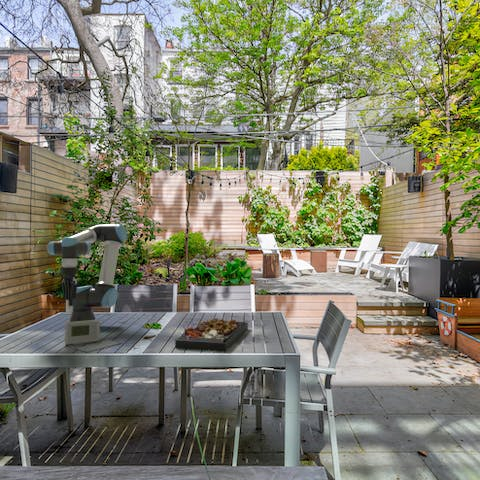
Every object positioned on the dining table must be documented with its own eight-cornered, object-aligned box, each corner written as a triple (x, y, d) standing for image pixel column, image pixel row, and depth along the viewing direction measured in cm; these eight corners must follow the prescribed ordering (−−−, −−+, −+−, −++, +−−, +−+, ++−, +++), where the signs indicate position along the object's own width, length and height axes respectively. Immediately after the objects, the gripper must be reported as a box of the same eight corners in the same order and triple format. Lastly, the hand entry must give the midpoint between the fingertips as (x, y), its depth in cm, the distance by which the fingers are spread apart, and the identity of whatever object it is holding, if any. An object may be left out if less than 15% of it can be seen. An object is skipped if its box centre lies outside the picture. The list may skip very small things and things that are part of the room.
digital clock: (63, 346, 178) (63, 324, 178) (67, 341, 187) (67, 320, 187) (98, 343, 181) (98, 322, 182) (101, 339, 190) (101, 318, 190)
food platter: (225, 353, 167) (225, 330, 167) (175, 349, 173) (175, 327, 173) (247, 330, 210) (247, 312, 210) (207, 327, 216) (207, 310, 217)
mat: (75, 349, 172) (75, 348, 172) (108, 340, 187) (108, 339, 187) (87, 352, 167) (87, 351, 167) (120, 343, 181) (120, 342, 181)
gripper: (55, 266, 192) (55, 312, 191) (69, 267, 184) (69, 314, 184) (69, 266, 198) (69, 309, 198) (83, 266, 191) (83, 312, 190)
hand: (69, 312), depth 191 cm, fingers closed
